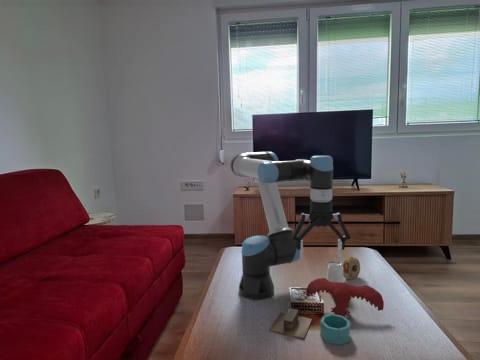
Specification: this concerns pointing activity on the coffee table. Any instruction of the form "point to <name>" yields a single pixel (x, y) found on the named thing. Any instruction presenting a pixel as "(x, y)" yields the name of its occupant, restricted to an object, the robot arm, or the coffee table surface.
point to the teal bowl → (335, 329)
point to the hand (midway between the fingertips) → (320, 258)
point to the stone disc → (351, 268)
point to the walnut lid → (291, 324)
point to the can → (335, 272)
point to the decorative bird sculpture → (345, 294)
